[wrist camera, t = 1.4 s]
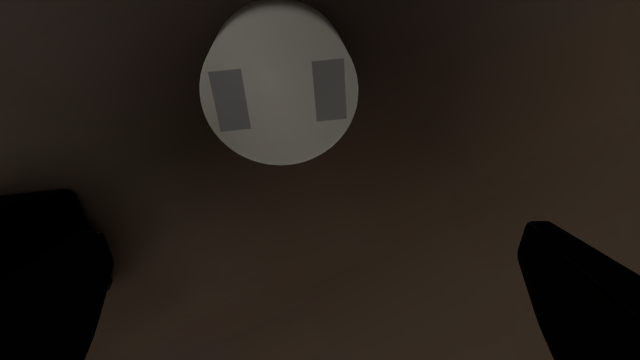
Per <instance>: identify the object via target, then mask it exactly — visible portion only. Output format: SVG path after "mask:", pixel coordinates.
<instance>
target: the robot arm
mask: <svg viewBox="0 0 640 360" xmlns="http://www.w3.org/2000/svg"><path fill="white" fill-rule="evenodd" d="M61 199H65V200H67V201H68V203H65V202H63V201H62V200H61ZM518 261H519V265H520V268H521V271H522V274H523V277H524V281H525V284H526V287H527V290H528V293H529V296H530V299H531V303H532V306H533V309H534V312H535V315H536V318H537V321H538V324H539V326H540V329H541V331H542V333H543V336H544V338H545V340H546V342H547V345H548V347H549V349H550V351H551V354H552V356H553V358H554V360H640V275H638V274H636V273H635V272H633V271H631V270H630V269H628V268H626V267H625V266H623V265H621V264H620V263H618V262H616V261H615V260H613V259H611V258H610V257H608V256H606V255H605V254H603V253H601V252H600V251H598V250H596V249H595V248H593V247H591V246H590V245H588V244H586V243H585V242H583V241H581V240H580V239H578V238H576V237H575V236H573V235H571V234H570V233H568V232H566V231H565V230H563V229H561V228H560V227H558V226H556V225H554V224H553V223H551V222H549V221H531V222H529V223H527V225H526V226H525V229H524V232H523V235H522V239H521V242H520V245H519V248H518ZM113 266H114V262H113V257H112V255H111V252H110V249H109V246H108V244H107V241H106V238H105V236H104V234H103V233H102V232H101V231H99V230H93V229H92V228H91V227H90V226H89V225H88V223H87V220H86V218H85V216H84V213H83V211H82V209H81V207H80V204H79V202H78V200H77V197H76V196H75V194H73V193H72V192H70V191H68V190H58V191H48V192H39V193H30V194H21V195H12V196H3V197H0V360H85V357H86V355H87V352H88V350H89V347H90V345H91V342H92V340H93V337H94V334H95V331H96V328H97V325H98V321H99V318H100V314H101V311H102V307H103V304H104V300H105V297H106V293H107V291H108V290H109V289H110V286H111V284H112V282H113V281H112V278H111V275H112V272H113Z"/></svg>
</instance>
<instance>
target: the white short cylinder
mask: <svg viewBox="0 0 640 360" xmlns="http://www.w3.org/2000/svg"><path fill="white" fill-rule="evenodd" d="M199 89H200V100H201V105H202V109H203V112H204V115H205V117H206V119H207V121H208V124H209V125H210V127H211V128H212V130H213V132H214V133H215V134H216V135H217V136H218V138H219V139H220V140H221V141H222V142H223V143H224V144H225V145H226V146H228V147H229V148H230V149H232V150H233V151H234V152H236V153H238V154H239V155H241V156H243V157H245V158H248V159H250V160H252V161H256V162H259V163H263V164H269V165H291V164H297V163H301V162H305V161H308V160H310V159H313V158H315V157H317V156H319V155H321V154H322V153H324V152H326V151H327V150H328V149H330V148H331V147H332V146H333V145H334V144H335V143H336V142H338V141H339V139H340V138H341V137H342V136H343V135H344V133H345V132H346V130H347V129H348V127H349V125H350V123H351V121H352V119H353V117H354V114H355V111H356V107H357V101H358V79H357V74H356V70H355V67H354V64H353V62H352V59H351V57H350V55H349V53H348V52H347V50H346V48H345V46H344V44H343V42H342V40H341V38H340V36H339V35H338V33H337V31H336V29H335V28H334V27H333V25H332V24H331V23H330V21H329V20H328V19H327V18H326V17H325V16H324V15H323V14H321V13H320V12H319V11H317V10H316V9H314V8H313V7H311V6H309V5H307V4H305V3H302V2H300V1H296V0H258V1H255V2H252V3H250V4H248V5H246V6H244V7H242V8H241V9H239V10H238V11H236V12H235V13H234V14H233V15H232V16H231V17H230V18H229V19H228V20H227V21H226V22H225V23H224V25H223V26H222V28H221V29H220V31H219V33H218V35H217V37H216V39H215V41H214V43H213V45H212V46H211V48H210V50H209V52H208V55H207V57H206V59H205V61H204V64H203V67H202V71H201V75H200V84H199Z"/></svg>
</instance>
